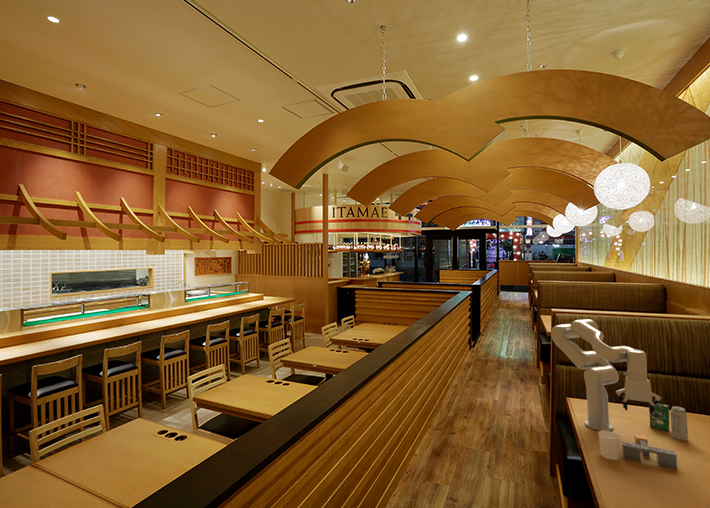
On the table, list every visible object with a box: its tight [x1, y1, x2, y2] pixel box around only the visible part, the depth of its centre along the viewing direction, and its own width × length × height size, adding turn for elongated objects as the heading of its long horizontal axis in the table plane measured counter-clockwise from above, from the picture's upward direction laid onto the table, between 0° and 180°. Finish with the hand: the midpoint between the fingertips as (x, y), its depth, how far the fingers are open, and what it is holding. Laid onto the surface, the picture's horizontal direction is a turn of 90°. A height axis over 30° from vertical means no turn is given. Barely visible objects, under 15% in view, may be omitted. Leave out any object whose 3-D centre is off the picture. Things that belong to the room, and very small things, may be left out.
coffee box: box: [649, 402, 670, 432], centre depth 190 cm, size 8×3×13 cm, turn 44°
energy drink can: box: [670, 405, 689, 442], centre depth 180 cm, size 6×6×15 cm
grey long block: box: [621, 441, 678, 470], centre depth 160 cm, size 4×18×6 cm, turn 61°
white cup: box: [598, 431, 620, 461], centre depth 165 cm, size 8×8×10 cm
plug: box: [633, 433, 650, 458], centre depth 170 cm, size 14×4×4 cm, turn 150°
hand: (638, 411), depth 174 cm, fingers open, 9 cm apart
